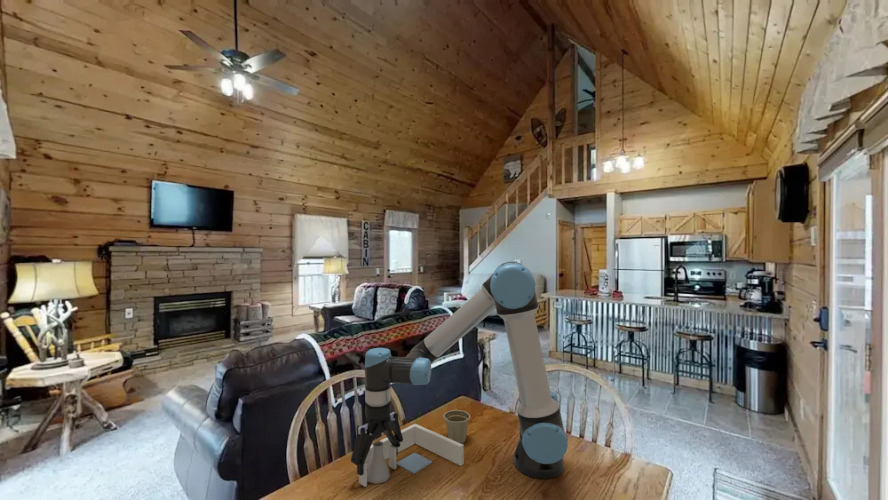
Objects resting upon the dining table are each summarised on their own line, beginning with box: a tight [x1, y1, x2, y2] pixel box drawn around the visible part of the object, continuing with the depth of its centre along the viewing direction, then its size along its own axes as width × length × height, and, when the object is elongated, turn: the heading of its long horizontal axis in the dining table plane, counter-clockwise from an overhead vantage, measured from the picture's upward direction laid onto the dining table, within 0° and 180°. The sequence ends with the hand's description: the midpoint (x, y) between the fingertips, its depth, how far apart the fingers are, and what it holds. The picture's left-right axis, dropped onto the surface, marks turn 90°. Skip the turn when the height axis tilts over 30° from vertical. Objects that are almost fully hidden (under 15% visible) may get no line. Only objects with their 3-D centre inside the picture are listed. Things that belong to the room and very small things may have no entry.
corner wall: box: [365, 423, 465, 471], centre depth 117 cm, size 22×24×6 cm
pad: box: [396, 452, 433, 475], centre depth 119 cm, size 8×8×1 cm
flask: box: [367, 440, 391, 485], centre depth 112 cm, size 7×7×10 cm
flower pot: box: [443, 409, 471, 444], centre depth 134 cm, size 9×9×9 cm
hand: (378, 475), depth 112 cm, fingers open, 10 cm apart
